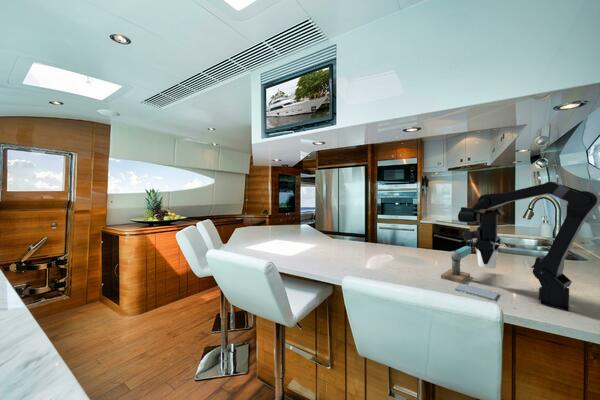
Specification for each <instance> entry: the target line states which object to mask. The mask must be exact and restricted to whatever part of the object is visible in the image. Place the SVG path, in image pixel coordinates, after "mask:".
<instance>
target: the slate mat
mask: <svg viewBox="0 0 600 400" xmlns="http://www.w3.org/2000/svg"><path fill="white" fill-rule="evenodd" d="M454 291H458V292H460V291H462V292H461V293H464V292H466V293H465V294H468V293H471V294H473V295H472V296H475V295H476V296H475V297H479V298H483V299H487V300H490V301H494V302H495V301H496V300H497V298H498V296H499V292H497V291H492V290H490V289H489V290H488V289H485V288H482V287H476V286H473V285H469V284H465V283H459V284H458V286H456V287H455V288H454ZM471 294H470V295H471Z"/></svg>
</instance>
